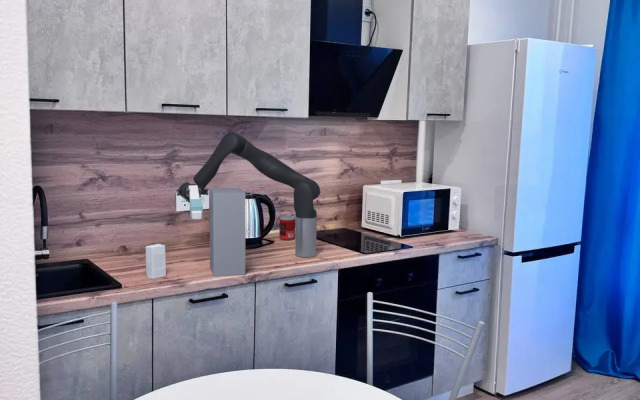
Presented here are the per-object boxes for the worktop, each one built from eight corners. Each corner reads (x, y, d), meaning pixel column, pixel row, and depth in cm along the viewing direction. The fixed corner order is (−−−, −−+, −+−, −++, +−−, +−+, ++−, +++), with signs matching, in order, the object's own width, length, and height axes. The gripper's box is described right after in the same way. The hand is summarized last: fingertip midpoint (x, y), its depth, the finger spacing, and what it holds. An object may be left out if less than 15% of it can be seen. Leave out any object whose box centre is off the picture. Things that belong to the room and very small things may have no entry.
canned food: (296, 238, 302) (297, 216, 301) (292, 241, 295) (292, 219, 293) (282, 237, 304) (282, 215, 302) (277, 240, 296) (277, 218, 295)
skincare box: (159, 274, 229) (158, 243, 228) (166, 276, 227) (165, 245, 225) (145, 277, 225) (145, 246, 223) (152, 279, 222) (151, 247, 220)
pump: (187, 191, 252) (187, 181, 249) (198, 191, 253) (198, 181, 250) (190, 219, 233) (190, 208, 231) (202, 218, 234) (203, 207, 232)
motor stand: (209, 267, 241) (209, 188, 236) (239, 266, 244) (239, 187, 240) (213, 276, 227) (213, 192, 223) (245, 274, 231) (245, 192, 226)
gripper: (174, 184, 261) (176, 183, 244) (207, 183, 265) (211, 182, 248) (175, 201, 261) (176, 201, 244) (208, 200, 265) (211, 200, 248)
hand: (194, 191), depth 246 cm, fingers closed on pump, 3 cm apart
